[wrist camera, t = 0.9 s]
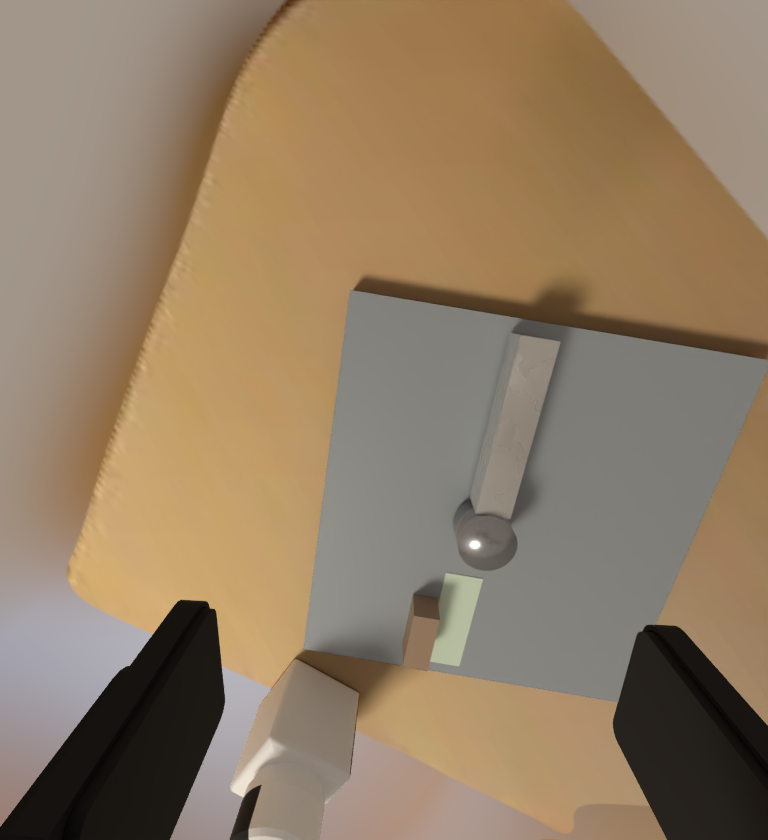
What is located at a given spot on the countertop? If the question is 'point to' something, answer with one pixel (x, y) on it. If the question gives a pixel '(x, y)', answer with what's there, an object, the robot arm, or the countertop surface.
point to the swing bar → (505, 454)
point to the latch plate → (536, 500)
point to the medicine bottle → (295, 756)
